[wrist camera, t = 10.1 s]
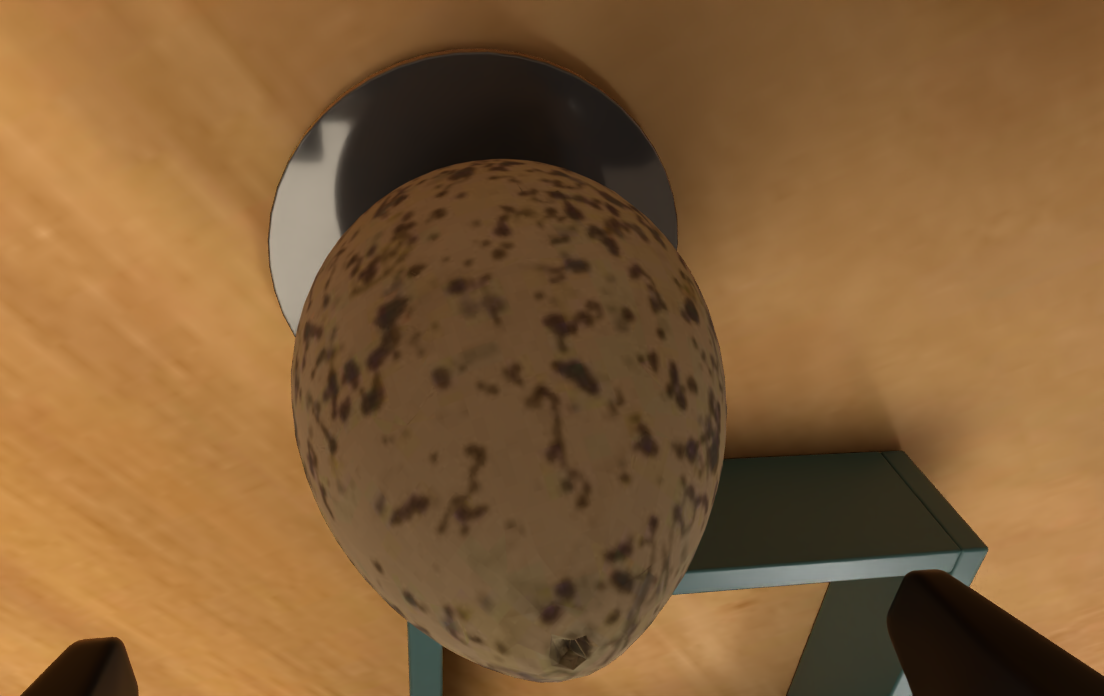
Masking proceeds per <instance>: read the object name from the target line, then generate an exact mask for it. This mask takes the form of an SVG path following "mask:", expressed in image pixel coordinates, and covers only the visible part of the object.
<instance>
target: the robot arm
mask: <svg viewBox="0 0 1104 696" xmlns="http://www.w3.org/2000/svg"><path fill="white" fill-rule="evenodd" d="M887 629H888V633H889V636H890V639H891V641H892V644H893V647H894V649H895V652H896V654H897V657H898V659H899V662H900V664H901V667H902V669H903V672H904V674H905V677H906V679H907V682H908V684H909V687H910V689H911V692H912V694H913V696H1104V676H1103V675H1101V674H1100V673H1098V672H1097V671H1095V670H1094V669H1092V668H1091V667H1089V666H1088V665H1086V664H1084V663H1083V662H1081V661H1080V660H1078V659H1077V658H1075V657H1074V656H1072V655H1071V654H1069V653H1068V652H1066V651H1065V650H1063V649H1062V648H1060V647H1059V646H1057V645H1056V644H1054V643H1053V642H1051V641H1050V640H1048V639H1047V638H1045V637H1044V636H1042V635H1041V634H1039V633H1038V632H1036V631H1035V630H1033V629H1032V628H1030V627H1029V626H1027V625H1026V624H1024V623H1023V622H1021V621H1020V620H1018V619H1017V618H1015V617H1014V616H1012V615H1011V614H1009V613H1008V612H1006V611H1004V610H1003V609H1001V608H1000V607H998V606H997V605H995V604H994V603H992V602H991V601H989V600H988V599H986V598H985V597H983V596H982V595H980V594H979V593H977V592H976V591H974V590H973V589H971V588H970V587H968V586H967V585H965V584H964V583H962V582H961V581H959V580H958V579H956V578H955V577H953V576H952V575H950V574H948V573H947V572H945V571H942V570H939V569H928V570H916V571H911V572H909V573H907V574H906V575H905V576H904V578H903V580H902V582H901V584H900V586H899V589H898V591H897V593H896V595H895V597H894V600H893V602H892V604H891V606H890V608H889V611H888V613H887ZM20 696H138V685H137V681H136V678H135V675H134V673H133V670H132V667H131V664H130V661H129V658H128V655H127V652H126V649H125V646H124V644H123V642H122V641H121V640H120V639H119V638H117V637H107V638H95V639H84V640H79V641H77V642H75V643H73V644H72V645H70V646H69V647H68V648H67V649H66V650H65V651H64V652H63V653H62V654H61V655H60V656H59V657H58V658H57V659H56V660H55V661H54V662H53V663H52V664H51V665H50V666H49V667H48V668H47V669H46V670H45V671H44V672H43V673H42V674H41V675H40V676H39V677H38V678H37V679H36V680H35V681H34V682H33V683H32V684H31V685H30V686H29V687H28V688H27V689H26V690H25V691H24V692H23V693H22V694H21V695H20Z"/></svg>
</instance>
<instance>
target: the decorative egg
mask: <svg viewBox="0 0 1104 696" xmlns="http://www.w3.org/2000/svg"><path fill="white" fill-rule="evenodd" d="M291 393H292V409H293V418H294V427H295V436H296V441H297V446H298V449H299V453H300V456H301V460H302V463H303V467H304V470H305V474H306V477H307V480H308V482H309V485H310V487H311V490H312V492H313V495H314V497H315V500H316V502H317V504H318V507H319V509H320V511H321V513H322V515H323V517H324V519H325V521H326V523H327V525H328V527H329V528H330V530H331V532H332V533H333V535H334V537H335V539H336V540H337V542H338V544H339V545H340V546H341V548H342V549H343V551H344V552H345V554H346V555H347V557H348V558H349V559H350V561H351V562H352V563H353V565H354V566H355V567H356V569H357V570H358V571H359V572H360V574H361V575H362V576H363V577H364V579H365V580H366V581H367V582H368V583H369V584H370V585H371V586H372V587H373V588H374V589H375V590H376V591H377V593H378V594H379V595H380V596H381V597H382V598H383V599H384V600H385V601H386V602H387V603H388V604H389V605H390V606H391V607H392V608H393V609H394V610H396V611H397V612H398V613H399V614H400V615H401V616H403V617H404V618H405V619H406V620H407V621H408V622H410V623H411V624H412V625H413V626H414V627H416V628H417V629H418V630H420V631H421V632H423V633H424V634H426V635H427V636H429V637H430V638H432V639H433V640H435V641H436V642H438V643H439V644H440V645H442V646H443V647H445V648H447V649H449V650H450V651H452V652H454V653H456V654H458V655H460V656H462V657H464V658H466V659H468V660H470V661H472V662H474V663H476V664H478V665H481V666H483V667H485V668H488V669H491V670H494V671H497V672H500V673H503V674H506V675H509V676H511V677H515V678H519V679H524V680H529V681H535V682H562V681H566V680H570V679H575V678H579V677H583V676H587V675H590V674H592V673H593V672H595V671H597V670H599V669H601V668H603V667H605V666H607V665H608V664H609V663H611V662H612V661H613V660H615V659H616V658H618V657H619V656H620V655H622V654H623V653H624V652H625V651H626V650H627V649H628V648H629V647H630V646H631V645H632V644H633V643H634V642H635V641H636V640H637V639H638V638H639V637H640V636H641V635H642V634H643V632H644V631H645V630H646V629H647V628H648V627H649V625H650V624H651V623H652V622H653V620H654V619H655V617H656V616H657V615H658V613H659V612H660V611H661V609H662V608H663V607H664V605H665V604H666V603H667V601H668V600H669V598H670V597H671V595H672V594H673V592H674V591H675V589H676V588H677V586H678V584H679V583H680V581H681V580H682V578H683V577H684V575H685V573H686V571H687V569H688V567H689V565H690V563H691V561H692V559H693V557H694V554H695V552H696V550H697V547H698V545H699V542H700V540H701V538H702V535H703V533H704V530H705V528H706V525H707V522H708V519H709V515H710V512H711V509H712V506H713V503H714V499H715V495H716V492H717V488H718V484H719V480H720V475H721V471H722V466H723V458H724V450H725V442H726V417H727V404H726V390H725V376H724V370H723V364H722V358H721V352H720V346H719V343H718V340H717V336H716V333H715V330H714V326H713V323H712V320H711V316H710V313H709V310H708V307H707V305H706V303H705V300H704V298H703V295H702V293H701V291H700V289H699V287H698V285H697V283H696V281H695V279H694V277H693V275H692V273H691V271H690V270H689V268H688V267H687V265H686V263H685V262H684V260H683V259H682V258H681V256H680V255H679V253H678V252H677V251H676V249H675V248H674V247H673V245H672V244H671V242H670V241H669V240H668V239H667V237H666V236H665V235H664V234H663V233H662V232H661V231H660V230H659V229H658V228H657V227H656V226H655V225H654V224H653V223H652V222H651V221H650V219H649V218H647V217H646V216H645V215H644V214H643V213H641V212H640V211H639V210H638V209H636V208H635V207H634V206H633V205H631V204H630V203H629V202H627V201H626V200H625V199H623V198H622V197H621V196H620V195H618V194H617V193H616V192H614V191H612V190H610V189H609V188H607V187H605V186H603V185H601V184H599V183H598V182H596V181H594V180H591V179H589V178H587V177H584V176H582V175H580V174H577V173H575V172H572V171H570V170H567V169H565V168H561V167H557V166H553V165H549V164H545V163H540V162H534V161H527V160H513V159H490V160H479V161H471V162H465V163H459V164H454V165H451V166H448V167H444V168H441V169H437V170H434V171H431V172H429V173H426V174H424V175H422V176H419V177H417V178H415V179H413V180H411V181H409V182H407V183H405V184H403V185H402V186H400V187H398V188H397V189H395V190H393V191H392V192H390V193H389V194H388V195H386V196H385V197H383V198H382V199H380V200H379V201H377V202H376V203H375V204H374V205H373V206H371V207H370V208H369V209H368V210H367V211H366V212H365V213H363V214H362V215H361V216H360V217H359V218H358V219H357V220H356V221H355V222H354V223H353V224H352V226H351V227H350V228H349V229H348V230H347V231H346V232H345V233H344V234H343V235H342V236H341V238H340V239H339V240H338V242H337V243H336V244H335V246H334V247H333V248H332V250H331V251H330V253H329V254H328V256H327V257H326V259H325V261H324V262H323V264H322V266H321V268H320V270H319V271H318V273H317V275H316V277H315V279H314V282H313V284H312V286H311V289H310V291H309V293H308V296H307V298H306V301H305V303H304V306H303V310H302V313H301V317H300V320H299V324H298V327H297V332H296V338H295V346H294V354H293V361H292V369H291Z"/></svg>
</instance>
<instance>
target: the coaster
mask: <svg viewBox="0 0 1104 696" xmlns="http://www.w3.org/2000/svg"><path fill="white" fill-rule="evenodd" d="M490 159H513V160H527V161H534V162H540V163H545V164H549V165H553V166H557V167H561V168H565V169H567V170H570V171H572V172H575V173H577V174H580V175H582V176H584V177H587V178H589V179H591V180H594V181H596V182H598V183H599V184H601V185H603V186H605V187H607V188H609V189H610V190H612V191H614V192H616V193H617V194H618V195H620V196H621V197H622V198H623V199H625V200H626V201H627V202H629V203H630V204H631V205H633V206H634V207H635V208H636V209H638V210H639V211H640V212H641V213H643V214H644V215H645V216H646V217H647V218H649V219H650V221H651V222H652V223H653V224H654V225H655V226H656V227H657V228H658V229H659V230H660V231H661V232H662V233H663V234H664V235H665V236H666V237H667V239H668V240H669V241H670V242H671V244H672V245H673V247H674V248H675V249H676V251H677V245H678V230H677V214H676V209H675V203H674V197H673V193H672V190H671V186H670V183H669V180H668V177H667V174H666V171H665V169H664V167H663V165H662V163H661V161H660V159H659V157H658V155H657V152H656V150H655V148H654V147H653V145H652V144H651V142H650V141H649V139H648V138H647V137H646V135H645V134H644V132H643V131H642V129H641V128H640V126H639V125H638V124H637V123H636V122H635V121H634V120H633V119H632V118H631V117H630V115H629V114H628V113H627V112H626V111H625V110H624V109H623V108H622V107H621V106H620V105H619V104H618V103H617V102H616V101H615V100H614V99H612V98H611V97H610V96H609V95H608V94H606V93H605V92H604V91H603V90H601V89H600V88H599V87H598V86H596V85H595V84H593V83H591V82H590V81H588V80H586V79H585V78H583V77H581V76H580V75H578V74H576V73H575V72H573V71H571V70H569V69H566V68H564V67H562V66H559V65H557V64H555V63H552V62H550V61H547V60H545V59H541V58H537V57H534V56H530V55H526V54H522V53H518V52H512V51H504V50H496V49H487V48H486V49H454V50H448V51H441V52H435V53H429V54H424V55H421V56H418V57H415V58H411V59H408V60H405V61H401V62H398V63H396V64H394V65H391V66H389V67H387V68H385V69H383V70H381V71H379V72H377V73H374V74H372V75H370V76H369V77H367V78H365V79H364V80H362V81H361V82H359V83H358V84H356V85H355V86H353V87H352V88H350V89H349V90H347V91H346V92H344V93H343V94H342V95H341V96H340V97H339V98H338V99H336V100H335V101H334V102H333V103H332V104H331V105H330V106H328V107H327V108H326V109H325V110H324V111H323V112H322V113H321V114H320V116H319V117H318V118H317V119H316V120H315V121H314V123H313V124H312V125H311V126H310V127H309V129H308V130H307V131H306V132H305V133H304V135H303V137H302V138H301V140H300V141H299V143H298V145H297V146H296V148H295V150H294V151H293V153H292V154H291V156H290V158H289V160H288V163H287V165H286V167H285V170H284V172H283V174H282V177H281V179H280V182H279V184H278V186H277V189H276V193H275V197H274V201H273V205H272V209H271V213H270V222H269V233H268V253H269V267H270V272H271V277H272V282H273V287H274V291H275V294H276V297H277V299H278V302H279V305H280V308H281V310H282V313H283V315H284V317H285V319H286V321H287V323H288V325H289V327H290V328H291V330H292V332H293V334H294V336H295V337H296V332H297V327H298V324H299V320H300V317H301V313H302V310H303V306H304V303H305V301H306V298H307V296H308V293H309V291H310V289H311V286H312V284H313V282H314V279H315V277H316V275H317V273H318V271H319V270H320V268H321V266H322V264H323V262H324V261H325V259H326V257H327V256H328V254H329V253H330V251H331V250H332V248H333V247H334V246H335V244H336V243H337V242H338V240H339V239H340V238H341V236H342V235H343V234H344V233H345V232H346V231H347V230H348V229H349V228H350V227H351V226H352V224H353V223H354V222H355V221H356V220H357V219H358V218H359V217H360V216H361V215H362V214H363V213H365V212H366V211H367V210H368V209H369V208H370V207H371V206H373V205H374V204H375V203H376V202H377V201H379V200H380V199H382V198H383V197H385V196H386V195H388V194H389V193H390V192H392V191H393V190H395V189H397V188H398V187H400V186H402V185H403V184H405V183H407V182H409V181H411V180H413V179H415V178H417V177H419V176H422V175H424V174H426V173H429V172H431V171H434V170H437V169H441V168H444V167H448V166H451V165H454V164H459V163H465V162H471V161H479V160H490Z"/></svg>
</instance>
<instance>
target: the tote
mask: <svg viewBox="0 0 1104 696" xmlns="http://www.w3.org/2000/svg"><path fill="white" fill-rule="evenodd" d="M987 552H988V547H987V546H986V545H985V544H984V542H983V541H982V540H981V539H980V538H979V537H978V536H977V534H976V533H975V532H974V531H973V530H972V529H971V528H970V526H969V525H968V524H967V523H966V522H965V521H964V520H963V518H962V517H961V516H960V515H959V514H958V513H957V512H956V510H955V509H954V508H953V507H952V506H951V505H950V504H949V502H948V501H947V500H946V499H945V498H944V497H943V496H942V494H941V493H940V492H939V491H938V490H937V489H936V488H935V486H934V485H933V484H932V483H931V482H930V481H929V480H928V478H927V477H926V476H925V475H924V474H923V473H922V472H921V470H920V469H919V468H918V467H917V466H916V465H915V464H914V462H913V461H912V460H911V459H910V458H909V457H908V456H907V454H906V453H905V452H904V451H884V452H881V453H880V452H859V453H838V454H818V455H798V456H777V457H757V458H736V459H723V466H722V471H721V475H720V480H719V484H718V488H717V492H716V495H715V499H714V503H713V506H712V509H711V512H710V515H709V519H708V522H707V525H706V528H705V530H704V533H703V535H702V538H701V540H700V542H699V545H698V547H697V550H696V552H695V554H694V557H693V559H692V561H691V563H690V565H689V567H688V569H687V571H686V573H685V575H684V577H683V578H682V580H681V581H680V583H679V584H678V586H677V588H676V589H675V591H674V592H673V594H672V595H677V594H689V593H701V592H713V591H725V590H738V589H750V588H762V587H774V586H786V585H799V584H811V583H823V582H830V584H829V587H828V590H827V592H826V595H825V597H824V600H823V603H822V605H821V608H820V611H819V613H818V616H817V618H816V621H815V624H814V626H813V629H812V631H811V634H810V637H809V639H808V642H807V644H806V647H805V650H804V652H803V655H802V657H801V660H800V663H799V665H798V668H797V670H796V673H795V676H794V678H793V681H792V683H791V686H790V689H789V691H788V694H787V696H912V695H913V694H912V692H911V689H910V687H909V684H908V682H907V679H906V677H905V674H904V672H903V669H902V667H901V664H900V662H899V659H898V657H897V654H896V652H895V649H894V647H893V644H892V641H891V639H890V636H889V633H888V629H887V613H888V611H889V608H890V606H891V604H892V602H893V600H894V597H895V595H896V593H897V591H898V589H899V586H900V584H901V582H902V580H903V578H904V576H905V575H906V574H907V573H909V572H911V571H916V570H928V569H939V570H942V571H945V572H947V573H948V574H950V575H952V576H953V577H955V578H956V579H958V580H959V581H961V582H962V583H964V584H965V585H967V586H968V587H969V586H970V584H971V582H972V581H973V579H974V577H975V575H976V573H977V571H978V569H979V567H980V565H981V563H982V561H983V560H984V558H985V556H986V554H987ZM407 629H408V657H409V685H410V696H443V646H442V645H440V644H439V643H438V642H436V641H435V640H433V639H432V638H430V637H429V636H427V635H426V634H424V633H423V632H421V631H420V630H418V629H417V628H416V627H414V626H413V625H412V624H411V623H410V622H408V621H407Z"/></svg>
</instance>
